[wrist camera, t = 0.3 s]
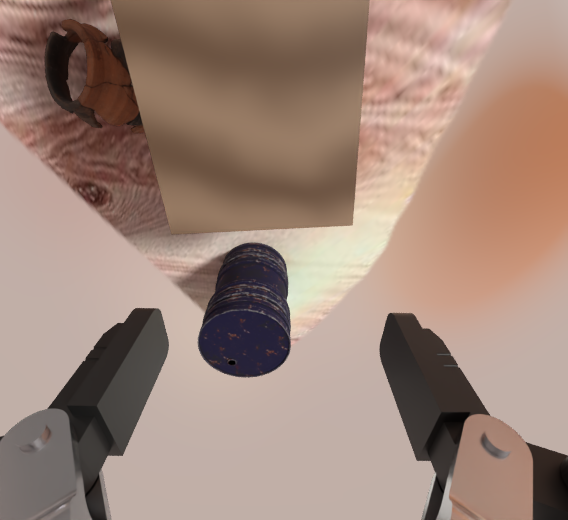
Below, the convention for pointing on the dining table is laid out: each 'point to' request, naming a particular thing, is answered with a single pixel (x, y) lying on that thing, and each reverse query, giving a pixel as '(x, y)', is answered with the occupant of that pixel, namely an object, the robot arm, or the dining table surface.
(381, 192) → the dining table surface
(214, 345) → the dark blue cylinder
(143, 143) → the dining table surface
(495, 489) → the robot arm
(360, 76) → the wooden side table
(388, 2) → the dining table surface
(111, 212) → the dining table surface
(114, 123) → the pottery mug
